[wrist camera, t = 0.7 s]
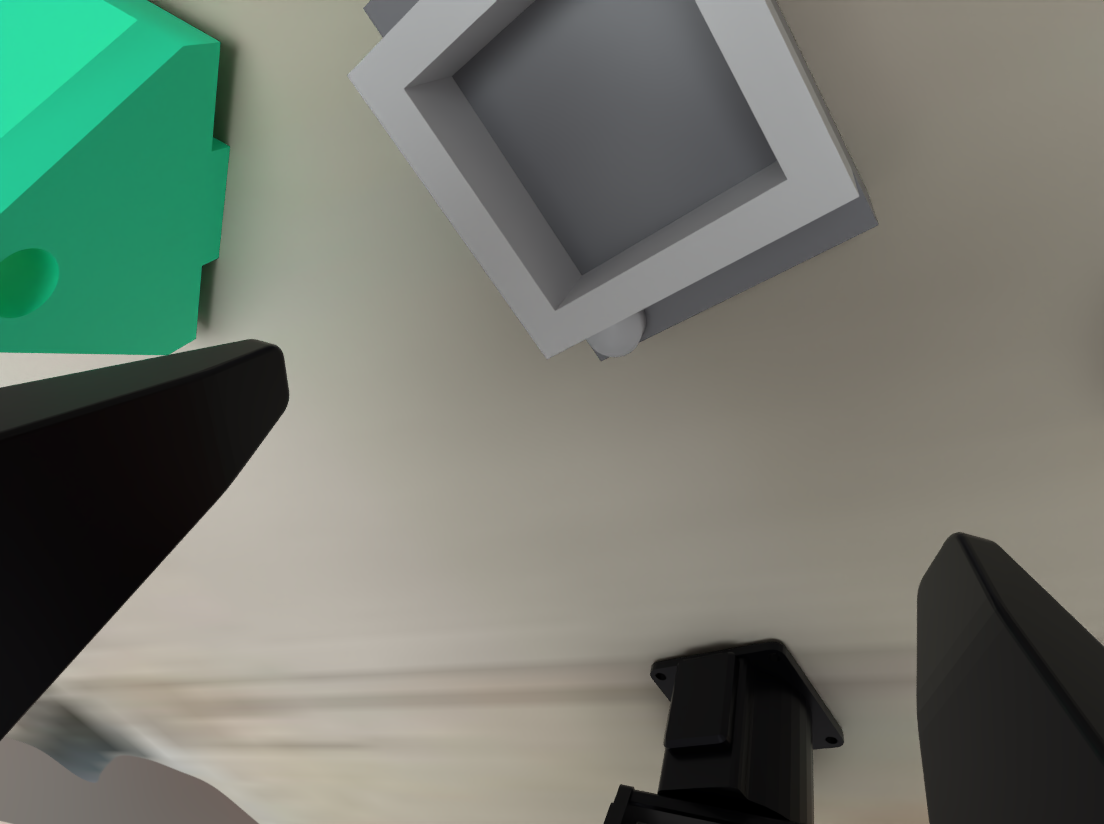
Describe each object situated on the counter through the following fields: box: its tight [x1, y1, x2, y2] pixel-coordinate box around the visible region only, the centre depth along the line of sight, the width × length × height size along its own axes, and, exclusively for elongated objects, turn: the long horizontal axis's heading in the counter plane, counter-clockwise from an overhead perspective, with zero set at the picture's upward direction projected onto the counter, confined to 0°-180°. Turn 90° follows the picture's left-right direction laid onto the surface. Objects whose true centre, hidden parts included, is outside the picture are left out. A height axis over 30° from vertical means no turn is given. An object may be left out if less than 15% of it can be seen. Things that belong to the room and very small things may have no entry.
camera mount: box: [0, 0, 230, 355], centre depth 21 cm, size 12×8×10 cm, turn 156°
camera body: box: [347, 0, 878, 361], centre depth 16 cm, size 11×8×6 cm
